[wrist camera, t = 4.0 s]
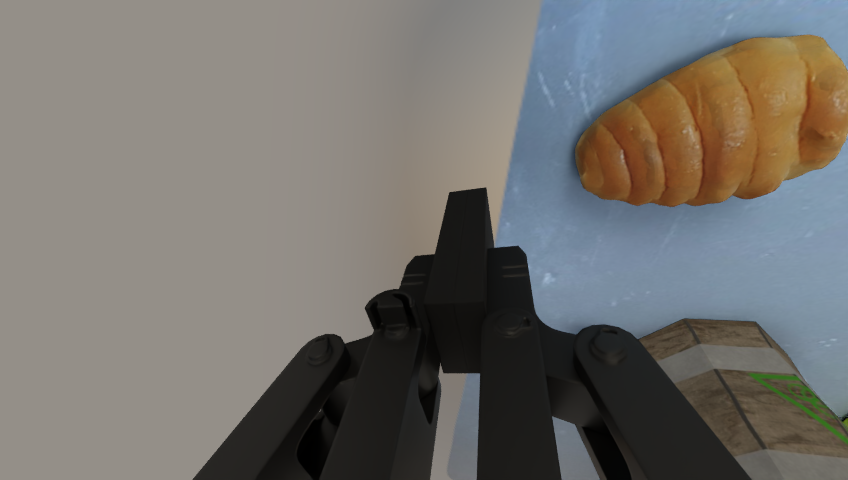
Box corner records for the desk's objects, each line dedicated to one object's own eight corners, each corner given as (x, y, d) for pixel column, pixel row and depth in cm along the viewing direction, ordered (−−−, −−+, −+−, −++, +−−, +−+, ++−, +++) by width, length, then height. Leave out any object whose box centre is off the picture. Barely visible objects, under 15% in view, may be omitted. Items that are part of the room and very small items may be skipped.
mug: (831, 348, 22) (1103, 614, 12) (706, 424, 28) (820, 643, 18) (608, 270, 22) (706, 482, 12) (530, 365, 28) (552, 557, 18)
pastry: (582, 213, 20) (600, 250, 17) (560, 98, 17) (576, 117, 14) (786, 163, 17) (855, 197, 14) (804, 11, 14) (899, 8, 10)
